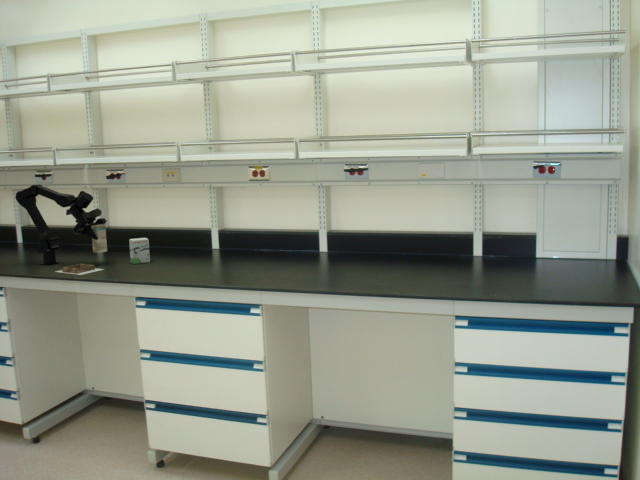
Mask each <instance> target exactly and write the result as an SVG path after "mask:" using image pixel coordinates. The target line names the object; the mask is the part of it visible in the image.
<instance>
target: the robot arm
mask: <svg viewBox="0 0 640 480" xmlns="http://www.w3.org/2000/svg"><path fill="white" fill-rule="evenodd" d="M38 196H42V197H43V198H46V199H49V200H52V201H53V202H55V203H56V204H57V205H58V206H60V207H61V208H66V209H65V210H66V213H65V215H66V216H69V215H71V216H72V217H74V219H75V221H74V222H75V223H76V224H75V225H74V227H73V228H72V232H73V233H74V235H78V234H80V236H81V235H82V236H86V237H88V238H90V239H92V238H93V239H95V240H98V237H97V236H96V235H95V233H94V232H93V231H92V229H91V226H92V225H98V224H102V225H106V224H107V222H108V221H107V219H106V218H105V217H101V218H98V217H100V216H102V213H103V212H102V210H101V209H100V208H98V207H97V208H95V209H92V210H89V211H85V209H88V207H89V206H90V204H91V203H92V201H93V200H94V197H93V195H92V194H91V193H88V192H86V191H84V190H81V191H80V192H79V193H78V194H77V196H75V195H74V194H70V193H62V192H58V191H56V190H53V189H51V188H49V187H46V186H44V185H42V184H32V185H31V186H29V187H27V188H25V189H22V190H19V191H17V192H16V193H15V200H16V202H17V203H18V204H19V205H20V206H21V207H23V208H24V209H25V211H26V212H27V213H28V215H29V218H30V219H31V221H32V222H33V225H34V227H35V228H36V230H37V232H38V233H39V243H40V244H39V245H38V247H37V248H36V250H37V252H38V253H40V254H41V258H42V259H41V261H42V262H40V263H39V265H46V266H48V265H54V264H59V263H60V261H58V260H57V255H56V251H58V250H59V246H60V244H61V240H60V237H59V235H58V233H57V231H56V230H55V231H52V230H51V229H50V228H49V226H48V225H47V224H48V223H47V222H46V221H45V219H44V217H43V215H42V214H41V212H40V210H39V208H38V206H37V197H38ZM67 208H68V209H67Z"/></svg>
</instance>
